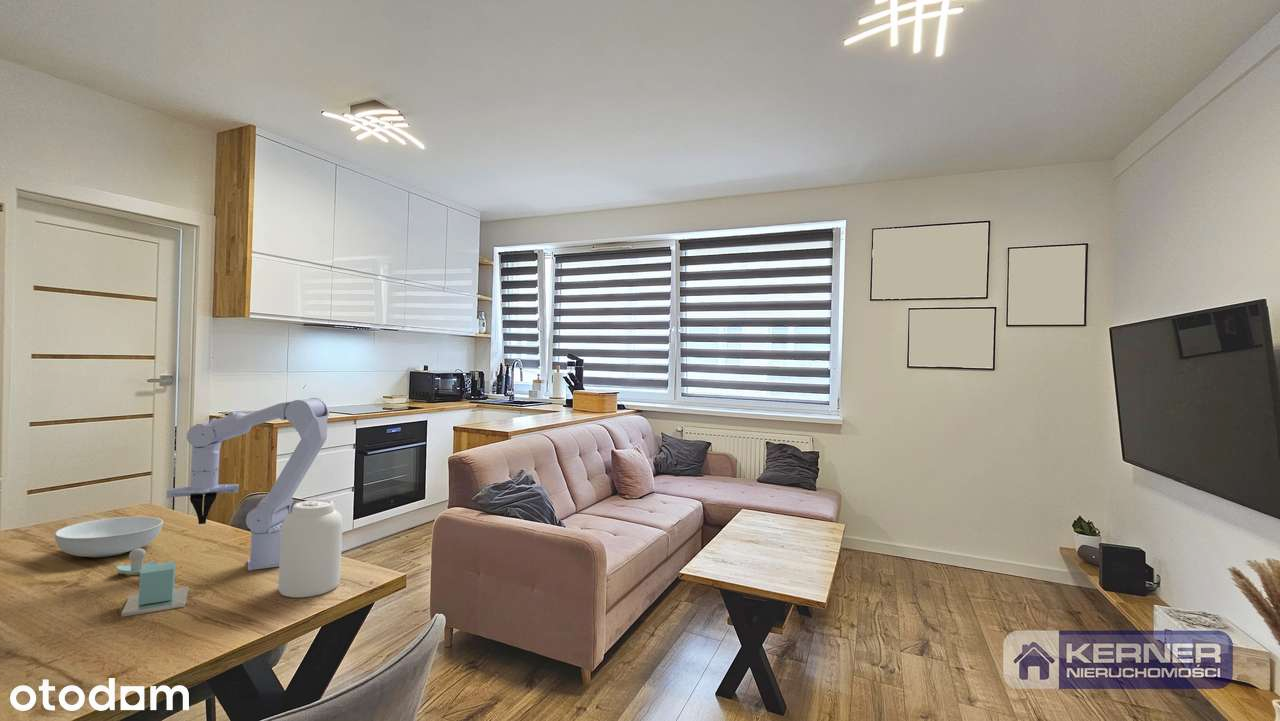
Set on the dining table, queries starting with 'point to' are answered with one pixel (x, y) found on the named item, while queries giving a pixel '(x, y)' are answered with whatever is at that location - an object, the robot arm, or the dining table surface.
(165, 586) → the teal block
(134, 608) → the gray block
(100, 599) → the dining table surface
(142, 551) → the pacifier
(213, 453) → the robot arm
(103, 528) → the serving bowl
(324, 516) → the white jar
